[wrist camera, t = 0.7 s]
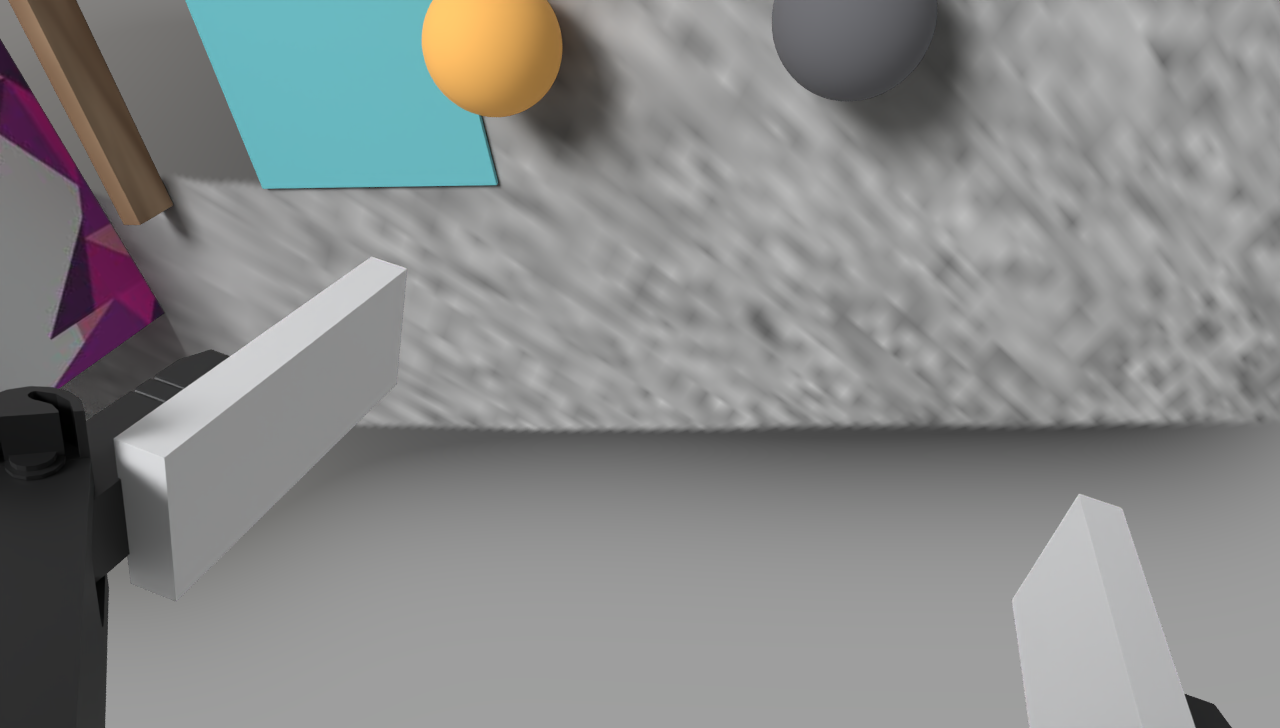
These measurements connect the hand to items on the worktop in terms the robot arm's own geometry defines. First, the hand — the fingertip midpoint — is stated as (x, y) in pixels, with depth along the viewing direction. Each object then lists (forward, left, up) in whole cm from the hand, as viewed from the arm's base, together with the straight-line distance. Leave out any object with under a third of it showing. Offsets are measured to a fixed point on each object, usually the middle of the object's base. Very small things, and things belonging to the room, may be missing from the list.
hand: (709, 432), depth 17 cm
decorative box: (+53, +4, -23) cm, 58 cm away
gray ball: (0, -3, -20) cm, 20 cm away
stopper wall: (+38, -3, -22) cm, 44 cm away
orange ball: (+14, -3, -20) cm, 24 cm away
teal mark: (+24, -3, -22) cm, 33 cm away
